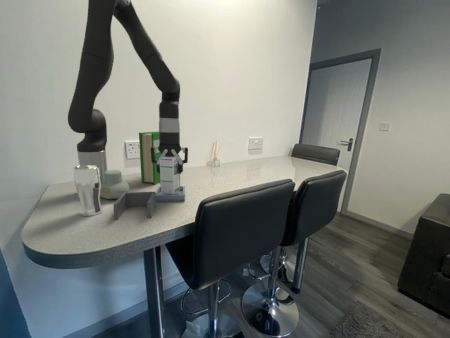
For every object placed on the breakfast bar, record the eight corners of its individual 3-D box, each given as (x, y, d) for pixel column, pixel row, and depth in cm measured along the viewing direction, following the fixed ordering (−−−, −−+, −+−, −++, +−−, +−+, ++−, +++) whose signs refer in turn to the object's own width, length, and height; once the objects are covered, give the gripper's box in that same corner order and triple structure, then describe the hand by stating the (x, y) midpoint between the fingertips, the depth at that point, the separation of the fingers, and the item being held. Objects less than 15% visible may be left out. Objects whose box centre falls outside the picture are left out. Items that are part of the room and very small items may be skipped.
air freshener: (94, 197, 76) (91, 172, 74) (112, 191, 84) (111, 168, 82) (116, 202, 73) (114, 176, 71) (133, 195, 81) (132, 171, 78)
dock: (114, 219, 61) (113, 204, 60) (124, 205, 71) (123, 192, 70) (151, 217, 63) (150, 203, 62) (155, 204, 73) (155, 191, 72)
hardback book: (155, 184, 95) (153, 133, 90) (141, 183, 97) (138, 132, 92) (173, 175, 112) (172, 132, 107) (161, 174, 114) (160, 131, 108)
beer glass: (99, 205, 70) (95, 163, 66) (107, 212, 66) (103, 167, 62) (75, 212, 64) (69, 166, 61) (83, 219, 60) (76, 170, 57)
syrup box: (174, 194, 77) (173, 157, 74) (160, 193, 78) (159, 156, 75) (180, 190, 83) (180, 155, 79) (167, 188, 84) (166, 154, 81)
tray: (154, 202, 75) (154, 195, 74) (158, 192, 85) (158, 186, 85) (184, 201, 77) (184, 195, 76) (184, 191, 87) (184, 186, 87)
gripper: (147, 130, 70) (149, 176, 74) (189, 132, 73) (188, 175, 77) (151, 129, 77) (152, 171, 81) (188, 131, 80) (188, 171, 84)
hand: (170, 173), depth 79 cm, fingers closed on syrup box, 7 cm apart
